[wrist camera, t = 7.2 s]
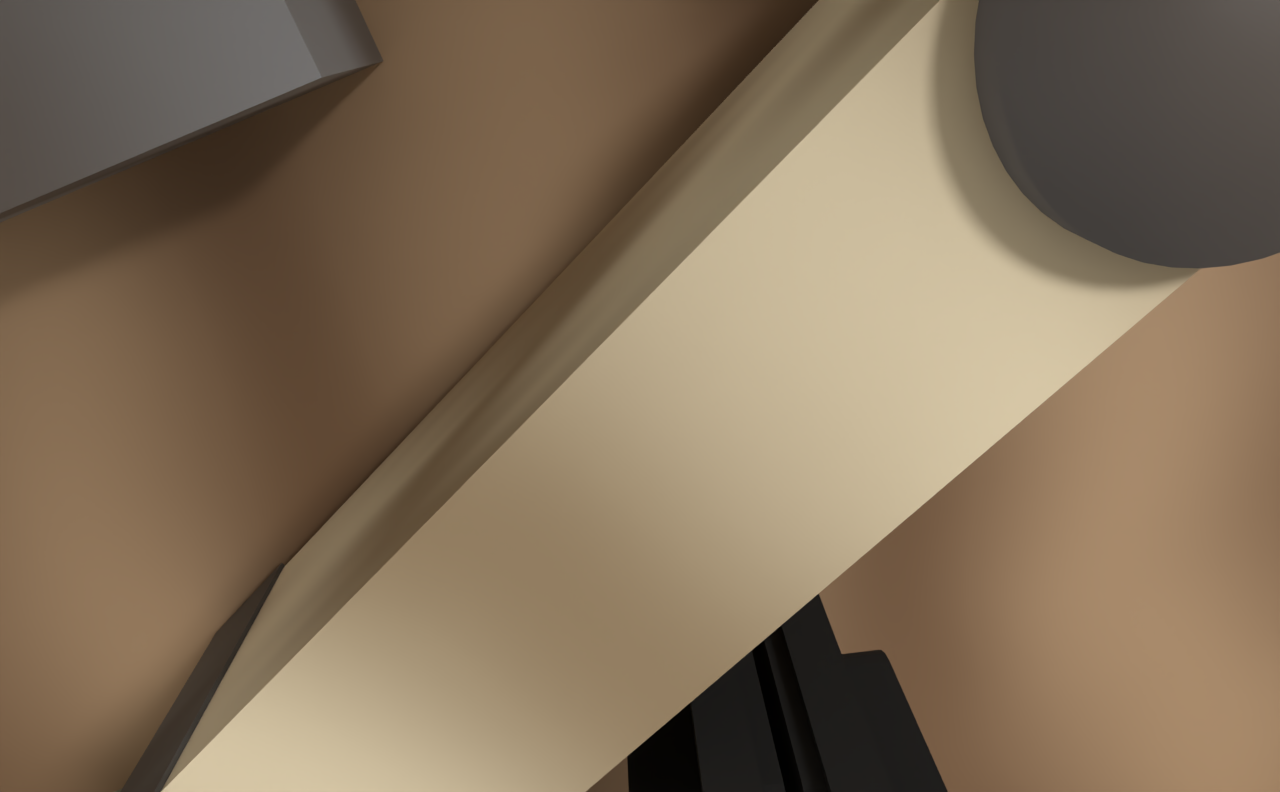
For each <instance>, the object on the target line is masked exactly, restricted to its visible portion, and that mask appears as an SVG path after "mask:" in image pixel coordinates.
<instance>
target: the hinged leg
mask: <svg viewBox="0 0 1280 792" xmlns="http://www.w3.org/2000/svg"><path fill="white" fill-rule="evenodd" d="M1277 253H1280V0H819V1H818V2H817V3H816V4H815V5H814V6H813V7H812V8H811V9H810V10H809V11H808V12H807V13H806V14H805V15H804V16H803V17H802V19H801V20H800V21H799V22H798V23H797V24H796V25H795V26H794V27H793V28H792V29H791V30H790V31H789V32H788V33H787V34H786V36H785V37H784V38H783V39H782V40H781V41H780V42H779V43H778V44H777V45H776V46H775V47H774V48H773V49H772V50H771V51H770V52H769V54H768V55H767V56H766V57H765V58H764V59H763V60H762V61H761V62H760V63H759V64H758V65H757V66H756V67H755V68H754V69H753V70H752V72H751V73H750V74H749V75H748V76H747V77H746V78H745V79H744V80H743V81H742V82H741V83H740V84H739V85H738V86H737V87H736V89H735V90H734V91H733V92H732V93H731V94H730V95H729V96H728V97H727V98H726V99H725V100H724V101H723V102H722V103H721V104H720V105H719V107H718V108H717V109H716V110H715V111H714V112H713V113H712V114H711V115H710V116H709V117H708V118H707V119H706V120H705V121H704V122H703V123H702V125H701V126H700V127H699V128H698V129H697V130H696V131H695V132H694V133H693V134H692V135H691V136H690V137H689V138H688V139H687V140H686V142H685V143H684V144H683V145H682V146H681V147H680V148H679V149H678V150H677V151H676V152H675V153H674V154H673V155H672V156H671V157H670V158H669V160H668V161H667V162H666V163H665V164H664V165H663V166H662V167H661V168H660V169H659V170H658V171H657V172H656V173H655V174H654V175H653V177H652V178H651V179H650V180H649V181H648V182H647V183H646V184H645V185H644V186H643V187H642V188H641V189H640V190H639V191H638V192H637V193H636V195H635V196H634V197H633V198H632V199H631V200H630V201H629V202H628V203H627V204H626V205H625V206H624V207H623V208H622V209H621V210H620V211H619V213H618V214H617V215H616V216H615V217H614V218H613V219H612V220H611V221H610V222H609V223H608V224H607V225H606V226H605V227H604V228H603V230H602V231H601V232H600V233H599V234H598V235H597V236H596V237H595V238H594V239H593V240H592V241H591V242H590V243H589V244H588V245H587V246H586V248H585V249H584V250H583V251H582V252H581V253H580V254H579V255H578V256H577V257H576V258H575V259H574V260H573V261H572V262H571V263H570V264H569V266H568V267H567V268H566V269H565V270H564V271H563V272H562V273H561V274H560V275H559V276H558V277H557V278H556V279H555V280H554V281H553V283H552V284H551V285H550V286H549V287H548V288H547V289H546V290H545V291H544V292H543V293H542V294H541V295H540V296H539V297H538V298H537V299H536V301H535V302H534V303H533V304H532V305H531V306H530V307H529V308H528V309H527V310H526V311H525V312H524V313H523V314H522V315H521V316H520V317H519V319H518V320H517V321H516V322H515V323H514V324H513V325H512V326H511V327H510V328H509V329H508V330H507V331H506V332H505V333H504V334H503V336H502V337H501V338H500V339H499V340H498V341H497V342H496V343H495V344H494V345H493V346H492V347H491V348H490V349H489V350H488V351H487V352H486V354H485V355H484V356H483V357H482V358H481V359H480V360H479V361H478V362H477V363H476V364H475V365H474V366H473V367H472V368H471V369H470V371H469V372H468V373H467V374H466V375H465V376H464V377H463V378H462V379H461V380H460V381H459V382H458V383H457V384H456V385H455V386H454V387H453V389H452V390H451V391H450V392H449V393H448V394H447V395H446V396H445V397H444V398H443V399H442V400H441V401H440V402H439V403H438V404H437V405H436V407H435V408H434V409H433V410H432V411H431V412H430V413H429V414H428V415H427V416H426V417H425V418H424V419H423V420H422V421H421V422H420V424H419V425H418V426H417V427H416V428H415V429H414V430H413V431H412V432H411V433H410V434H409V435H408V436H407V437H406V438H405V439H404V440H403V442H402V443H401V444H400V445H399V446H398V447H397V448H396V449H395V450H394V451H393V452H392V453H391V454H390V455H389V456H388V457H387V458H386V460H385V461H384V462H383V463H382V464H381V465H380V466H379V467H378V468H377V469H376V470H375V471H374V472H373V473H372V474H371V475H370V477H369V478H368V479H367V480H366V481H365V482H364V483H363V484H362V485H361V486H360V487H359V488H358V489H357V490H356V491H355V492H354V493H353V495H352V496H351V497H350V498H349V499H348V500H347V501H346V502H345V503H344V504H343V505H342V506H341V507H340V508H339V509H338V510H337V511H336V513H335V514H334V515H333V516H332V517H331V518H330V519H329V520H328V521H327V522H326V523H325V524H324V525H323V526H322V527H321V528H320V530H319V531H318V532H317V533H316V534H315V535H314V536H313V537H312V538H311V539H310V540H309V541H308V542H307V543H306V544H305V545H304V546H303V548H302V549H301V550H300V551H299V552H298V553H297V554H296V555H295V556H294V557H293V558H292V559H291V560H290V561H289V562H288V563H287V565H284V564H283V563H281V564H280V565H279V566H278V567H277V568H276V569H275V570H274V571H273V573H272V574H271V575H270V576H269V577H268V578H267V579H266V580H265V581H264V582H263V583H262V584H261V585H260V586H259V587H258V588H257V590H256V591H255V592H254V593H253V594H252V595H251V596H250V597H249V598H248V599H247V600H246V601H245V602H244V603H243V604H242V605H241V607H240V608H239V609H238V610H237V611H236V612H235V613H234V614H233V615H232V616H231V617H230V618H229V619H228V620H227V621H226V623H225V624H224V625H223V626H222V627H221V628H220V629H219V630H218V631H217V632H216V633H215V635H214V637H213V638H212V640H211V642H210V643H209V645H208V647H207V648H206V650H205V652H204V653H203V655H202V657H201V658H200V660H199V662H198V663H197V665H196V667H195V668H194V670H193V672H192V673H191V675H190V677H189V678H188V680H187V682H186V683H185V685H184V687H183V688H182V690H181V692H180V693H179V695H178V697H177V698H176V700H175V702H174V703H173V705H172V707H171V708H170V710H169V712H168V713H167V715H166V717H165V718H164V720H163V722H162V723H161V725H160V727H159V728H158V730H157V732H156V733H155V735H154V737H153V738H152V740H151V742H150V743H149V745H148V747H147V748H146V750H145V752H144V753H143V755H142V757H141V758H140V760H139V762H138V763H137V765H136V767H135V768H134V770H133V772H132V773H131V775H130V777H129V778H128V780H127V782H126V783H125V785H124V787H123V788H122V790H121V792H586V791H587V790H588V789H589V788H591V787H592V786H593V785H594V784H595V783H596V782H598V781H599V780H600V779H601V778H602V777H603V776H605V775H606V774H607V773H608V772H609V771H610V770H612V769H613V768H614V767H615V766H616V765H618V764H619V763H620V762H621V761H622V760H623V759H625V758H626V757H627V756H628V755H629V754H630V753H632V752H633V751H634V750H635V749H636V748H638V747H639V746H640V745H641V744H642V743H643V742H645V741H646V740H647V739H648V738H649V737H650V736H652V735H653V734H654V733H655V732H656V731H658V730H659V729H660V728H661V727H662V726H663V725H665V724H666V723H667V722H668V721H669V720H670V719H672V718H673V717H674V716H675V715H676V714H678V713H679V712H680V711H681V710H682V709H683V708H685V707H686V706H687V705H688V704H689V703H690V702H692V701H693V700H694V699H695V698H696V697H698V696H699V695H700V694H701V693H702V692H703V691H705V690H706V689H707V688H708V687H709V686H710V685H712V684H713V683H714V682H715V681H716V680H718V679H719V678H720V677H721V676H722V675H723V674H725V673H726V672H727V671H728V670H729V669H730V668H732V667H733V666H734V665H735V664H736V663H737V662H739V661H740V660H741V659H742V658H743V657H745V656H746V655H747V654H748V653H749V652H750V651H752V650H753V649H754V648H755V647H756V646H757V645H759V644H760V643H761V642H762V641H763V640H765V639H766V638H767V637H768V636H769V635H770V634H772V633H773V632H774V631H775V630H776V629H777V628H779V627H780V626H781V625H782V624H783V623H785V622H786V621H787V620H788V619H789V618H790V617H792V616H793V615H794V614H795V613H796V612H797V611H799V610H800V609H801V608H802V607H803V606H805V605H806V604H807V603H808V602H809V601H810V600H812V599H813V598H814V597H815V596H816V595H817V594H819V593H820V592H821V591H822V590H823V589H825V588H826V587H827V586H828V585H829V584H830V583H832V582H833V581H834V580H835V579H836V578H837V577H839V576H840V575H841V574H842V573H843V572H845V571H846V570H847V569H848V568H849V567H850V566H852V565H853V564H854V563H855V562H856V561H857V560H859V559H860V558H861V557H862V556H863V555H864V554H866V553H867V552H868V551H869V550H870V549H872V548H873V547H874V546H875V545H876V544H877V543H879V542H880V541H881V540H882V539H883V538H884V537H886V536H887V535H888V534H889V533H890V532H892V531H893V530H894V529H895V528H896V527H897V526H899V525H900V524H901V523H902V522H903V521H904V520H906V519H907V518H908V517H909V516H910V515H912V514H913V513H914V512H915V511H916V510H917V509H919V508H920V507H921V506H922V505H923V504H924V503H926V502H927V501H928V500H929V499H930V498H932V497H933V496H934V495H935V494H936V493H937V492H939V491H940V490H941V489H942V488H943V487H944V486H946V485H947V484H948V483H949V482H950V481H952V480H953V479H954V478H955V477H956V476H957V475H959V474H960V473H961V472H962V471H963V470H964V469H966V468H967V467H968V466H969V465H970V464H972V463H973V462H974V461H975V460H976V459H977V458H979V457H980V456H981V455H982V454H983V453H984V452H986V451H987V450H988V449H989V448H990V447H991V446H993V445H994V444H995V443H996V442H997V441H999V440H1000V439H1001V438H1002V437H1003V436H1004V435H1006V434H1007V433H1008V432H1009V431H1010V430H1011V429H1013V428H1014V427H1015V426H1016V425H1017V424H1019V423H1020V422H1021V421H1022V420H1023V419H1024V418H1026V417H1027V416H1028V415H1029V414H1030V413H1031V412H1033V411H1034V410H1035V409H1036V408H1037V407H1039V406H1040V405H1041V404H1042V403H1043V402H1044V401H1046V400H1047V399H1048V398H1049V397H1050V396H1051V395H1053V394H1054V393H1055V392H1056V391H1057V390H1059V389H1060V388H1061V387H1062V386H1063V385H1064V384H1066V383H1067V382H1068V381H1069V380H1070V379H1071V378H1073V377H1074V376H1075V375H1076V374H1077V373H1079V372H1080V371H1081V370H1082V369H1083V368H1084V367H1086V366H1087V365H1088V364H1089V363H1090V362H1091V361H1093V360H1094V359H1095V358H1096V357H1097V356H1099V355H1100V354H1101V353H1102V352H1103V351H1104V350H1106V349H1107V348H1108V347H1109V346H1110V345H1111V344H1113V343H1114V342H1115V341H1116V340H1117V339H1118V338H1120V337H1121V336H1122V335H1123V334H1124V333H1126V332H1127V331H1128V330H1129V329H1130V328H1131V327H1133V326H1134V325H1135V324H1136V323H1137V322H1138V321H1140V320H1141V319H1142V318H1143V317H1144V316H1146V315H1147V314H1148V313H1149V312H1150V311H1151V310H1153V309H1154V308H1155V307H1156V306H1157V305H1158V304H1160V303H1161V302H1162V301H1163V300H1164V299H1166V298H1167V297H1168V296H1169V295H1170V294H1171V293H1173V292H1174V291H1175V290H1176V289H1177V288H1178V287H1180V286H1181V285H1182V284H1183V283H1184V282H1186V281H1187V280H1188V279H1189V278H1190V277H1191V276H1193V275H1194V274H1195V273H1196V272H1197V271H1198V270H1200V269H1201V268H1212V267H1222V266H1232V265H1236V264H1241V263H1245V262H1250V261H1254V260H1259V259H1263V258H1266V257H1269V256H1272V255H1274V254H1277Z"/></svg>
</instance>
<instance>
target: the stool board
mask: <svg viewBox="0 0 1280 792" xmlns="http://www.w3.org/2000/svg"><path fill="white" fill-rule="evenodd" d="M818 1H819V0H0V792H121V790H122V788H123V787H124V785H125V783H126V782H127V780H128V778H129V777H130V775H131V773H132V772H133V770H134V768H135V767H136V765H137V763H138V762H139V760H140V758H141V757H142V755H143V753H144V752H145V750H146V748H147V747H148V745H149V743H150V742H151V740H152V738H153V737H154V735H155V733H156V732H157V730H158V728H159V727H160V725H161V723H162V722H163V720H164V718H165V717H166V715H167V713H168V712H169V710H170V708H171V707H172V705H173V703H174V702H175V700H176V698H177V697H178V695H179V693H180V692H181V690H182V688H183V687H184V685H185V683H186V682H187V680H188V678H189V677H190V675H191V673H192V672H193V670H194V668H195V667H196V665H197V663H198V662H199V660H200V658H201V657H202V655H203V653H204V652H205V650H206V648H207V647H208V645H209V643H210V642H211V640H212V638H213V637H214V635H215V633H216V632H217V631H218V630H219V629H220V628H221V627H222V626H223V625H224V624H225V623H226V621H227V620H228V619H229V618H230V617H231V616H232V615H233V614H234V613H235V612H236V611H237V610H238V609H239V608H240V607H241V605H242V604H243V603H244V602H245V601H246V600H247V599H248V598H249V597H250V596H251V595H252V594H253V593H254V592H255V591H256V590H257V588H258V587H259V586H260V585H261V584H262V583H263V582H264V581H265V580H266V579H267V578H268V577H269V576H270V575H271V574H272V573H273V571H274V570H275V569H276V568H277V567H278V566H279V565H280V564H281V563H283V564H284V565H287V563H288V562H289V561H290V560H291V559H292V558H293V557H294V556H295V555H296V554H297V553H298V552H299V551H300V550H301V549H302V548H303V546H304V545H305V544H306V543H307V542H308V541H309V540H310V539H311V538H312V537H313V536H314V535H315V534H316V533H317V532H318V531H319V530H320V528H321V527H322V526H323V525H324V524H325V523H326V522H327V521H328V520H329V519H330V518H331V517H332V516H333V515H334V514H335V513H336V511H337V510H338V509H339V508H340V507H341V506H342V505H343V504H344V503H345V502H346V501H347V500H348V499H349V498H350V497H351V496H352V495H353V493H354V492H355V491H356V490H357V489H358V488H359V487H360V486H361V485H362V484H363V483H364V482H365V481H366V480H367V479H368V478H369V477H370V475H371V474H372V473H373V472H374V471H375V470H376V469H377V468H378V467H379V466H380V465H381V464H382V463H383V462H384V461H385V460H386V458H387V457H388V456H389V455H390V454H391V453H392V452H393V451H394V450H395V449H396V448H397V447H398V446H399V445H400V444H401V443H402V442H403V440H404V439H405V438H406V437H407V436H408V435H409V434H410V433H411V432H412V431H413V430H414V429H415V428H416V427H417V426H418V425H419V424H420V422H421V421H422V420H423V419H424V418H425V417H426V416H427V415H428V414H429V413H430V412H431V411H432V410H433V409H434V408H435V407H436V405H437V404H438V403H439V402H440V401H441V400H442V399H443V398H444V397H445V396H446V395H447V394H448V393H449V392H450V391H451V390H452V389H453V387H454V386H455V385H456V384H457V383H458V382H459V381H460V380H461V379H462V378H463V377H464V376H465V375H466V374H467V373H468V372H469V371H470V369H471V368H472V367H473V366H474V365H475V364H476V363H477V362H478V361H479V360H480V359H481V358H482V357H483V356H484V355H485V354H486V352H487V351H488V350H489V349H490V348H491V347H492V346H493V345H494V344H495V343H496V342H497V341H498V340H499V339H500V338H501V337H502V336H503V334H504V333H505V332H506V331H507V330H508V329H509V328H510V327H511V326H512V325H513V324H514V323H515V322H516V321H517V320H518V319H519V317H520V316H521V315H522V314H523V313H524V312H525V311H526V310H527V309H528V308H529V307H530V306H531V305H532V304H533V303H534V302H535V301H536V299H537V298H538V297H539V296H540V295H541V294H542V293H543V292H544V291H545V290H546V289H547V288H548V287H549V286H550V285H551V284H552V283H553V281H554V280H555V279H556V278H557V277H558V276H559V275H560V274H561V273H562V272H563V271H564V270H565V269H566V268H567V267H568V266H569V264H570V263H571V262H572V261H573V260H574V259H575V258H576V257H577V256H578V255H579V254H580V253H581V252H582V251H583V250H584V249H585V248H586V246H587V245H588V244H589V243H590V242H591V241H592V240H593V239H594V238H595V237H596V236H597V235H598V234H599V233H600V232H601V231H602V230H603V228H604V227H605V226H606V225H607V224H608V223H609V222H610V221H611V220H612V219H613V218H614V217H615V216H616V215H617V214H618V213H619V211H620V210H621V209H622V208H623V207H624V206H625V205H626V204H627V203H628V202H629V201H630V200H631V199H632V198H633V197H634V196H635V195H636V193H637V192H638V191H639V190H640V189H641V188H642V187H643V186H644V185H645V184H646V183H647V182H648V181H649V180H650V179H651V178H652V177H653V175H654V174H655V173H656V172H657V171H658V170H659V169H660V168H661V167H662V166H663V165H664V164H665V163H666V162H667V161H668V160H669V158H670V157H671V156H672V155H673V154H674V153H675V152H676V151H677V150H678V149H679V148H680V147H681V146H682V145H683V144H684V143H685V142H686V140H687V139H688V138H689V137H690V136H691V135H692V134H693V133H694V132H695V131H696V130H697V129H698V128H699V127H700V126H701V125H702V123H703V122H704V121H705V120H706V119H707V118H708V117H709V116H710V115H711V114H712V113H713V112H714V111H715V110H716V109H717V108H718V107H719V105H720V104H721V103H722V102H723V101H724V100H725V99H726V98H727V97H728V96H729V95H730V94H731V93H732V92H733V91H734V90H735V89H736V87H737V86H738V85H739V84H740V83H741V82H742V81H743V80H744V79H745V78H746V77H747V76H748V75H749V74H750V73H751V72H752V70H753V69H754V68H755V67H756V66H757V65H758V64H759V63H760V62H761V61H762V60H763V59H764V58H765V57H766V56H767V55H768V54H769V52H770V51H771V50H772V49H773V48H774V47H775V46H776V45H777V44H778V43H779V42H780V41H781V40H782V39H783V38H784V37H785V36H786V34H787V33H788V32H789V31H790V30H791V29H792V28H793V27H794V26H795V25H796V24H797V23H798V22H799V21H800V20H801V19H802V17H803V16H804V15H805V14H806V13H807V12H808V11H809V10H810V9H811V8H812V7H813V6H814V5H815V4H816V3H817V2H818ZM819 595H820V598H821V601H822V603H823V606H824V609H825V611H826V614H827V617H828V619H829V622H830V625H831V627H832V630H833V633H834V635H835V638H836V641H837V643H838V646H839V648H840V651H841V654H847V653H855V652H864V651H872V650H882V651H883V652H885V654H886V655H887V657H888V659H889V661H890V663H891V665H892V667H893V670H894V672H895V674H896V676H897V679H898V681H899V683H900V685H901V688H902V690H903V692H904V694H905V697H906V699H907V701H908V703H909V706H910V708H911V710H912V712H913V715H914V717H915V719H916V721H917V724H918V726H919V728H920V730H921V732H922V735H923V737H924V739H925V741H926V744H927V746H928V748H929V750H930V753H931V755H932V757H933V759H934V762H935V764H936V766H937V768H938V771H939V773H940V775H941V777H942V780H943V782H944V784H945V786H946V789H947V791H948V792H1280V253H1277V254H1274V255H1272V256H1269V257H1266V258H1263V259H1259V260H1254V261H1250V262H1245V263H1241V264H1236V265H1232V266H1222V267H1212V268H1201V269H1200V270H1198V271H1197V272H1196V273H1195V274H1194V275H1193V276H1191V277H1190V278H1189V279H1188V280H1187V281H1186V282H1184V283H1183V284H1182V285H1181V286H1180V287H1178V288H1177V289H1176V290H1175V291H1174V292H1173V293H1171V294H1170V295H1169V296H1168V297H1167V298H1166V299H1164V300H1163V301H1162V302H1161V303H1160V304H1158V305H1157V306H1156V307H1155V308H1154V309H1153V310H1151V311H1150V312H1149V313H1148V314H1147V315H1146V316H1144V317H1143V318H1142V319H1141V320H1140V321H1138V322H1137V323H1136V324H1135V325H1134V326H1133V327H1131V328H1130V329H1129V330H1128V331H1127V332H1126V333H1124V334H1123V335H1122V336H1121V337H1120V338H1118V339H1117V340H1116V341H1115V342H1114V343H1113V344H1111V345H1110V346H1109V347H1108V348H1107V349H1106V350H1104V351H1103V352H1102V353H1101V354H1100V355H1099V356H1097V357H1096V358H1095V359H1094V360H1093V361H1091V362H1090V363H1089V364H1088V365H1087V366H1086V367H1084V368H1083V369H1082V370H1081V371H1080V372H1079V373H1077V374H1076V375H1075V376H1074V377H1073V378H1071V379H1070V380H1069V381H1068V382H1067V383H1066V384H1064V385H1063V386H1062V387H1061V388H1060V389H1059V390H1057V391H1056V392H1055V393H1054V394H1053V395H1051V396H1050V397H1049V398H1048V399H1047V400H1046V401H1044V402H1043V403H1042V404H1041V405H1040V406H1039V407H1037V408H1036V409H1035V410H1034V411H1033V412H1031V413H1030V414H1029V415H1028V416H1027V417H1026V418H1024V419H1023V420H1022V421H1021V422H1020V423H1019V424H1017V425H1016V426H1015V427H1014V428H1013V429H1011V430H1010V431H1009V432H1008V433H1007V434H1006V435H1004V436H1003V437H1002V438H1001V439H1000V440H999V441H997V442H996V443H995V444H994V445H993V446H991V447H990V448H989V449H988V450H987V451H986V452H984V453H983V454H982V455H981V456H980V457H979V458H977V459H976V460H975V461H974V462H973V463H972V464H970V465H969V466H968V467H967V468H966V469H964V470H963V471H962V472H961V473H960V474H959V475H957V476H956V477H955V478H954V479H953V480H952V481H950V482H949V483H948V484H947V485H946V486H944V487H943V488H942V489H941V490H940V491H939V492H937V493H936V494H935V495H934V496H933V497H932V498H930V499H929V500H928V501H927V502H926V503H924V504H923V505H922V506H921V507H920V508H919V509H917V510H916V511H915V512H914V513H913V514H912V515H910V516H909V517H908V518H907V519H906V520H904V521H903V522H902V523H901V524H900V525H899V526H897V527H896V528H895V529H894V530H893V531H892V532H890V533H889V534H888V535H887V536H886V537H884V538H883V539H882V540H881V541H880V542H879V543H877V544H876V545H875V546H874V547H873V548H872V549H870V550H869V551H868V552H867V553H866V554H864V555H863V556H862V557H861V558H860V559H859V560H857V561H856V562H855V563H854V564H853V565H852V566H850V567H849V568H848V569H847V570H846V571H845V572H843V573H842V574H841V575H840V576H839V577H837V578H836V579H835V580H834V581H833V582H832V583H830V584H829V585H828V586H827V587H826V588H825V589H823V590H822V591H821V592H820V593H819ZM586 792H629V787H628V764H627V757H626V758H625V759H623V760H622V761H621V762H620V763H619V764H618V765H616V766H615V767H614V768H613V769H612V770H610V771H609V772H608V773H607V774H606V775H605V776H603V777H602V778H601V779H600V780H599V781H598V782H596V783H595V784H594V785H593V786H592V787H591V788H589V789H588V790H587V791H586Z"/></svg>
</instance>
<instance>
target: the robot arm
mask: <svg viewBox="0 0 1280 792" xmlns="http://www.w3.org/2000/svg"><path fill="white" fill-rule="evenodd" d="M627 764H628V787H629V792H948V791H947V789H946V786H945V784H944V782H943V780H942V777H941V775H940V773H939V771H938V768H937V766H936V764H935V762H934V759H933V757H932V755H931V753H930V750H929V748H928V746H927V744H926V741H925V739H924V737H923V735H922V732H921V730H920V728H919V726H918V724H917V721H916V719H915V717H914V715H913V712H912V710H911V708H910V706H909V703H908V701H907V699H906V697H905V694H904V692H903V690H902V688H901V685H900V683H899V681H898V679H897V676H896V674H895V672H894V670H893V667H892V665H891V663H890V661H889V659H888V657H887V655H886V654H885V652H883V651H882V650H872V651H864V652H855V653H847V654H841V651H840V648H839V646H838V643H837V641H836V638H835V635H834V633H833V630H832V627H831V625H830V622H829V619H828V617H827V614H826V611H825V609H824V606H823V603H822V601H821V598H820V595H819V594H817V595H816V596H815V597H814V598H813V599H812V600H810V601H809V602H808V603H807V604H806V605H805V606H803V607H802V608H801V609H800V610H799V611H797V612H796V613H795V614H794V615H793V616H792V617H790V618H789V619H788V620H787V621H786V622H785V623H783V624H782V625H781V626H780V627H779V628H777V629H776V630H775V631H774V632H773V633H772V634H770V635H769V636H768V637H767V638H766V639H765V640H763V641H762V642H761V643H760V644H759V645H757V646H756V647H755V648H754V649H753V650H752V651H750V652H749V653H748V654H747V655H746V656H745V657H743V658H742V659H741V660H740V661H739V662H737V663H736V664H735V665H734V666H733V667H732V668H730V669H729V670H728V671H727V672H726V673H725V674H723V675H722V676H721V677H720V678H719V679H718V680H716V681H715V682H714V683H713V684H712V685H710V686H709V687H708V688H707V689H706V690H705V691H703V692H702V693H701V694H700V695H699V696H698V697H696V698H695V699H694V700H693V701H692V702H690V703H689V704H688V705H687V706H686V707H685V708H683V709H682V710H681V711H680V712H679V713H678V714H676V715H675V716H674V717H673V718H672V719H670V720H669V721H668V722H667V723H666V724H665V725H663V726H662V727H661V728H660V729H659V730H658V731H656V732H655V733H654V734H653V735H652V736H650V737H649V738H648V739H647V740H646V741H645V742H643V743H642V744H641V745H640V746H639V747H638V748H636V749H635V750H634V751H633V752H632V753H630V754H629V755H628V756H627Z"/></svg>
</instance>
